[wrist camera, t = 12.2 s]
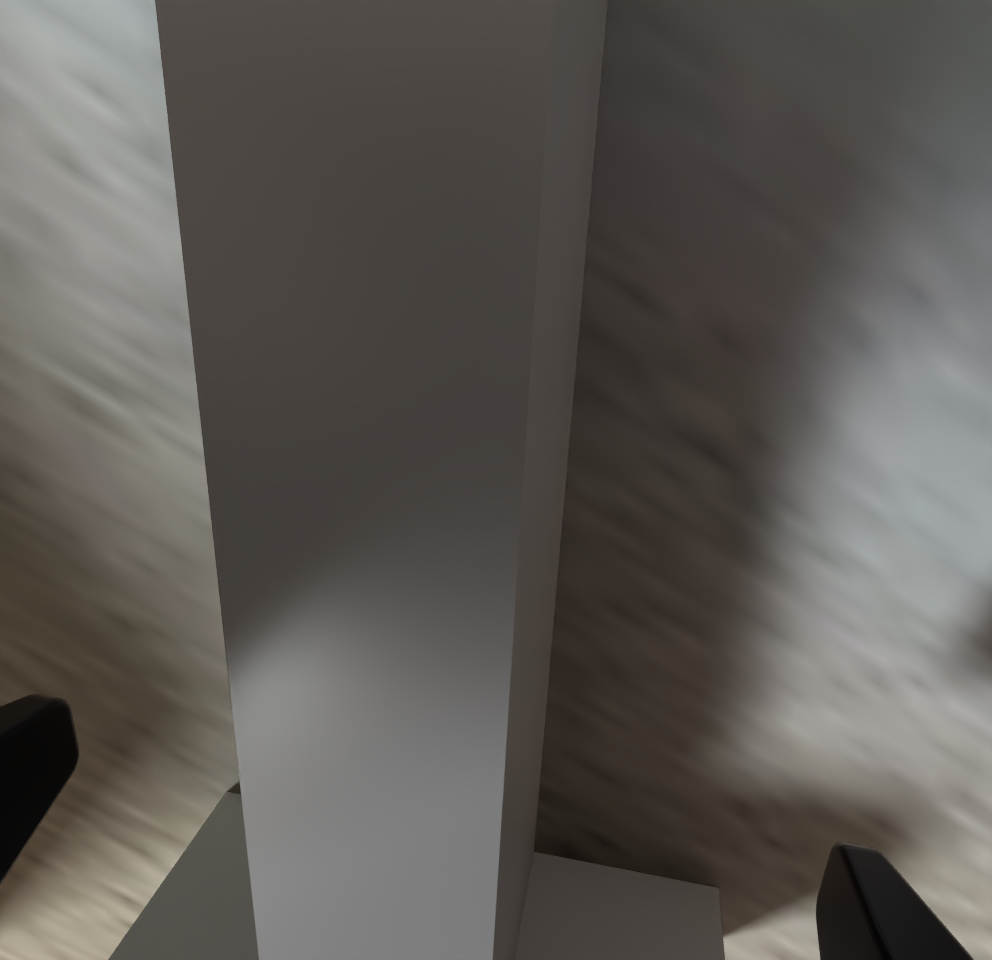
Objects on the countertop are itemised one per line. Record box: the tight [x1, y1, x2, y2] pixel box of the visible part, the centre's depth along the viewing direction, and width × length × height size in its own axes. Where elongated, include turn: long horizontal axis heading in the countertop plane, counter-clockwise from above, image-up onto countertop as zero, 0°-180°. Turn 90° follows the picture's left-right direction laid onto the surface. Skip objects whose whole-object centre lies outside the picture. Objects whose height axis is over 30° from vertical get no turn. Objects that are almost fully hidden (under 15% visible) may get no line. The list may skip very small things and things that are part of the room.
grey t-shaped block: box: [108, 0, 725, 960], centre depth 8 cm, size 8×13×4 cm, turn 177°
